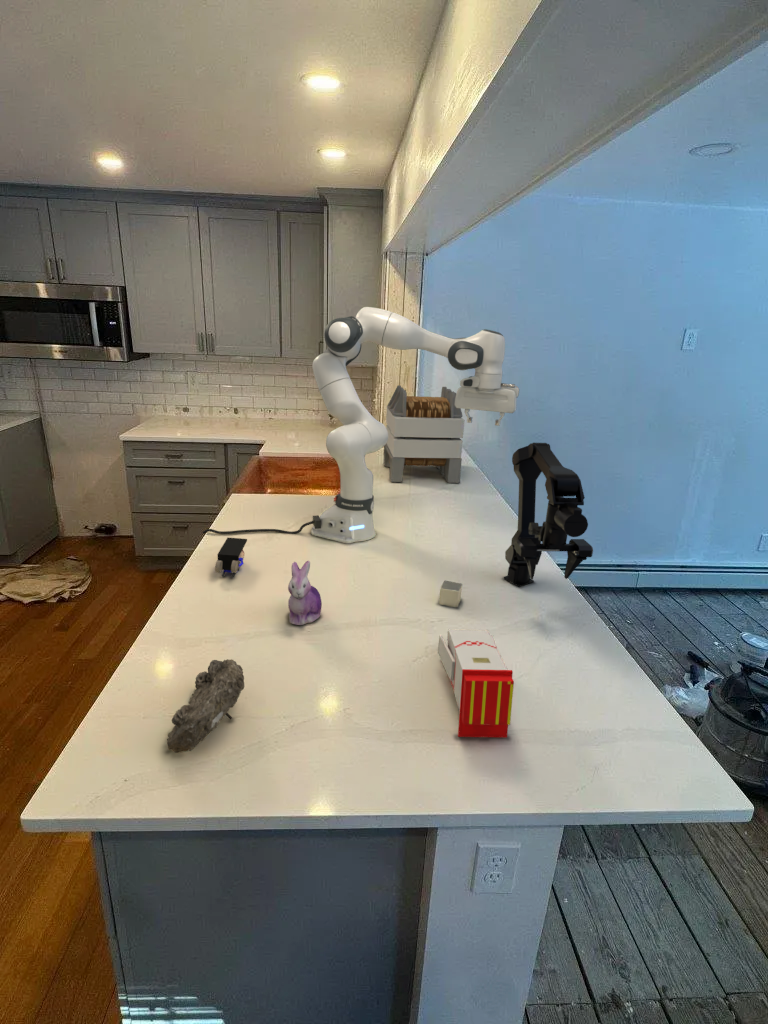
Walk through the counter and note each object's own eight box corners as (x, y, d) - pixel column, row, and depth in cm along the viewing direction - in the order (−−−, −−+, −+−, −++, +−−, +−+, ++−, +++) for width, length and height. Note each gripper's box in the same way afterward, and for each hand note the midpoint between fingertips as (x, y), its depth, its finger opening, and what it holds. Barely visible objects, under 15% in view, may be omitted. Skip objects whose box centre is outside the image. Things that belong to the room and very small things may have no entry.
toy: (488, 613, 130) (523, 677, 101) (484, 667, 133) (517, 744, 104) (435, 612, 130) (455, 676, 101) (432, 666, 133) (451, 743, 103)
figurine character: (238, 584, 162) (249, 557, 175) (236, 562, 158) (247, 536, 172) (215, 584, 161) (227, 556, 175) (212, 561, 158) (225, 535, 171)
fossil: (192, 660, 117) (244, 628, 112) (224, 691, 120) (276, 661, 115) (142, 746, 98) (202, 712, 93) (182, 779, 101) (242, 748, 96)
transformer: (382, 463, 289) (386, 382, 275) (445, 464, 293) (451, 384, 279) (390, 482, 257) (394, 392, 243) (460, 483, 261) (468, 394, 247)
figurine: (293, 630, 138) (292, 574, 133) (280, 610, 146) (279, 557, 141) (329, 622, 142) (330, 568, 137) (314, 603, 150) (315, 552, 145)
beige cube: (456, 607, 152) (458, 591, 150) (438, 604, 153) (440, 588, 152) (460, 599, 156) (462, 583, 155) (443, 596, 158) (444, 580, 156)
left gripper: (521, 383, 185) (515, 425, 190) (459, 378, 191) (455, 419, 196) (518, 385, 180) (513, 428, 184) (455, 380, 185) (451, 422, 190)
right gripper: (579, 511, 150) (570, 565, 155) (511, 510, 148) (504, 565, 153) (598, 526, 139) (588, 583, 145) (525, 526, 137) (517, 584, 143)
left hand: (483, 423), depth 190 cm, fingers open, 8 cm apart
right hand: (548, 578), depth 147 cm, fingers open, 9 cm apart
